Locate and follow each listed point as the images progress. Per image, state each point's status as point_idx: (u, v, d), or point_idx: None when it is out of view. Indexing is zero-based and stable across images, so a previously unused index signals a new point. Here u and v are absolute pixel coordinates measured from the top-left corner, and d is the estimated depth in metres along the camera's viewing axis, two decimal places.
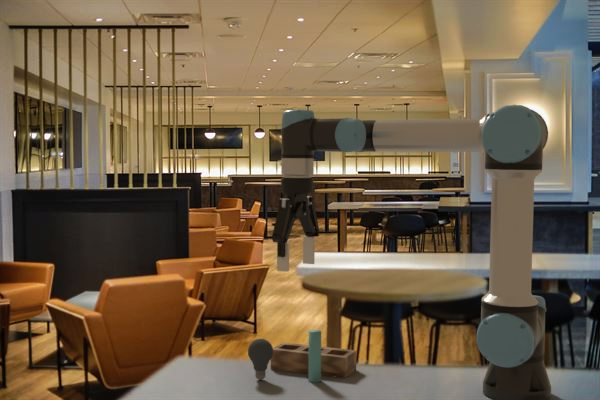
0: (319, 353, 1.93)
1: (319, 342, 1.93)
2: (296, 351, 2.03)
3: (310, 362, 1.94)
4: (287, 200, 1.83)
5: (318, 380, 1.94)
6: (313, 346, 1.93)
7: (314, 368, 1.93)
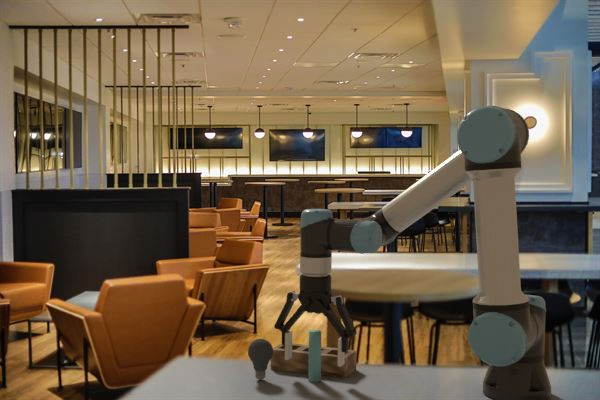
0: (319, 353, 1.93)
1: (319, 342, 1.93)
2: (296, 351, 2.03)
3: (310, 362, 1.94)
4: None
5: (318, 380, 1.94)
6: (313, 346, 1.93)
7: (314, 368, 1.93)
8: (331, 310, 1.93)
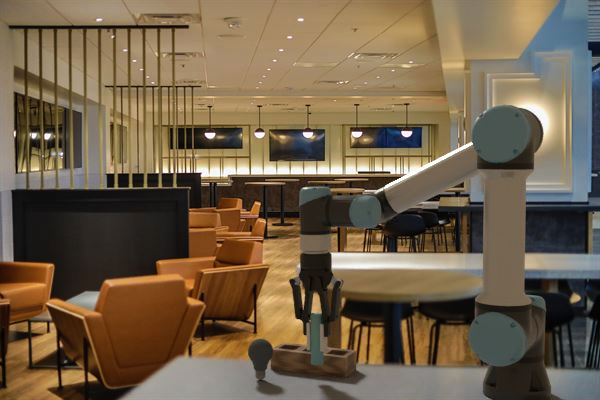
0: None
1: None
2: (296, 351, 2.03)
3: (312, 345, 1.93)
4: None
5: (321, 363, 1.93)
6: (315, 328, 1.92)
7: (316, 350, 1.93)
8: (326, 292, 1.93)
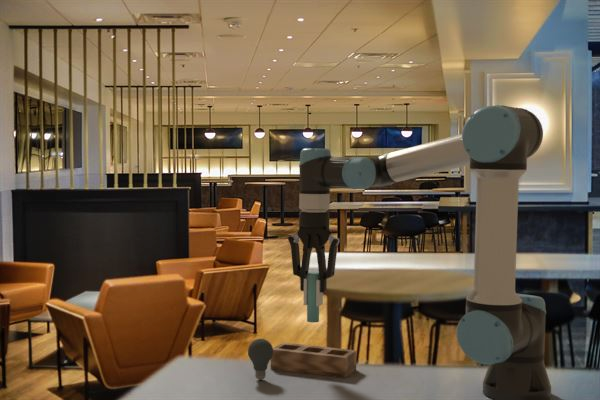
0: None
1: None
2: (296, 351, 2.03)
3: (309, 303, 2.01)
4: None
5: (316, 320, 2.02)
6: (312, 287, 2.01)
7: (312, 308, 2.01)
8: (323, 249, 2.01)
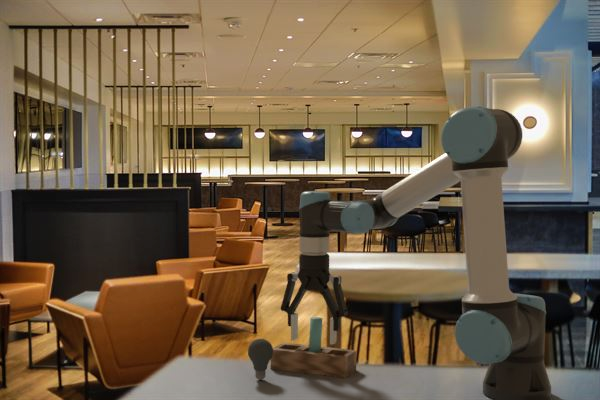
0: (319, 339, 2.03)
1: (320, 329, 2.03)
2: (296, 351, 2.03)
3: (310, 347, 2.03)
4: None
5: None
6: (314, 332, 2.02)
7: None
8: (327, 289, 2.03)
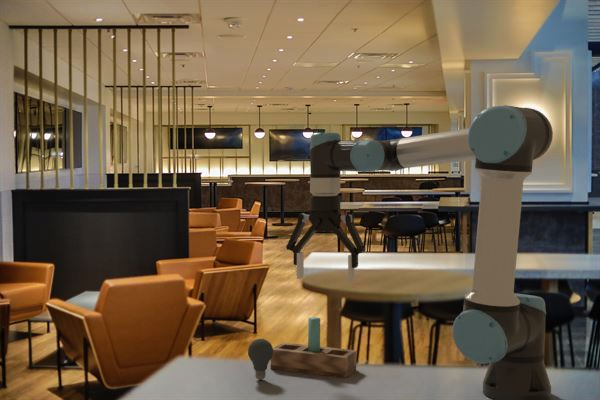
0: (318, 339, 2.03)
1: (318, 329, 2.03)
2: (296, 351, 2.03)
3: (310, 348, 2.03)
4: None
5: None
6: (313, 332, 2.03)
7: None
8: (341, 229, 2.02)
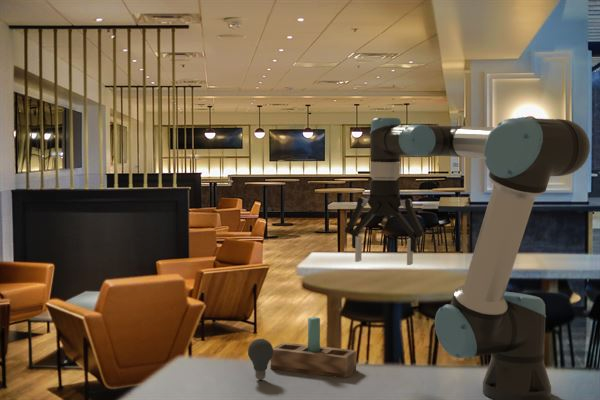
0: (318, 339, 2.03)
1: (318, 329, 2.03)
2: (296, 351, 2.03)
3: (309, 348, 2.03)
4: None
5: None
6: (312, 332, 2.03)
7: None
8: (400, 213, 2.05)
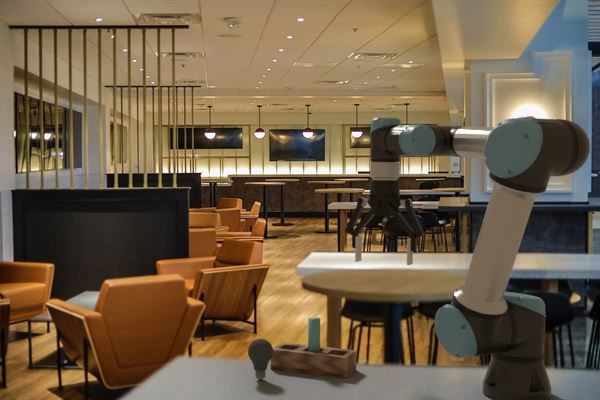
0: (318, 339, 2.03)
1: (318, 329, 2.03)
2: (296, 351, 2.03)
3: (310, 348, 2.03)
4: None
5: None
6: (312, 332, 2.03)
7: None
8: (400, 213, 2.05)
